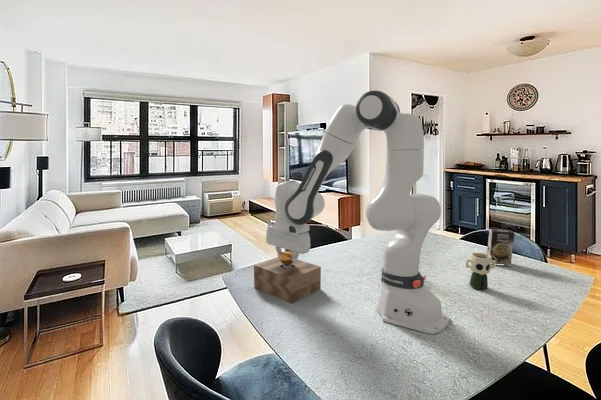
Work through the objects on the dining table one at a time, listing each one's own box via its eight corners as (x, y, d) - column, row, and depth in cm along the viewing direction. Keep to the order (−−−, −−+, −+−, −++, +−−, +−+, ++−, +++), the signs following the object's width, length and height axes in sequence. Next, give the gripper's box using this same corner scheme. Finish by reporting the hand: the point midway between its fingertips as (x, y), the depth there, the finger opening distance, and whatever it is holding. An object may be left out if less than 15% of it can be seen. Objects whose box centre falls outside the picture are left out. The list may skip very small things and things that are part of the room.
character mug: (467, 290, 129) (470, 258, 127) (460, 283, 136) (463, 252, 134) (497, 291, 128) (500, 258, 126) (488, 284, 135) (491, 252, 133)
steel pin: (297, 282, 131) (297, 253, 129) (287, 286, 127) (287, 257, 125) (287, 278, 134) (287, 250, 132) (276, 282, 130) (276, 253, 128)
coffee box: (488, 264, 157) (492, 231, 155) (485, 260, 164) (488, 227, 161) (511, 267, 155) (515, 232, 152) (507, 262, 161) (510, 229, 158)
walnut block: (320, 289, 130) (320, 266, 128) (291, 303, 118) (291, 278, 117) (283, 275, 143) (283, 255, 142) (254, 287, 131) (253, 264, 130)
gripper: (262, 221, 131) (262, 255, 134) (301, 230, 118) (301, 268, 120) (274, 218, 136) (274, 251, 138) (313, 227, 122) (312, 263, 125)
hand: (287, 259), depth 129 cm, fingers closed on steel pin, 6 cm apart
